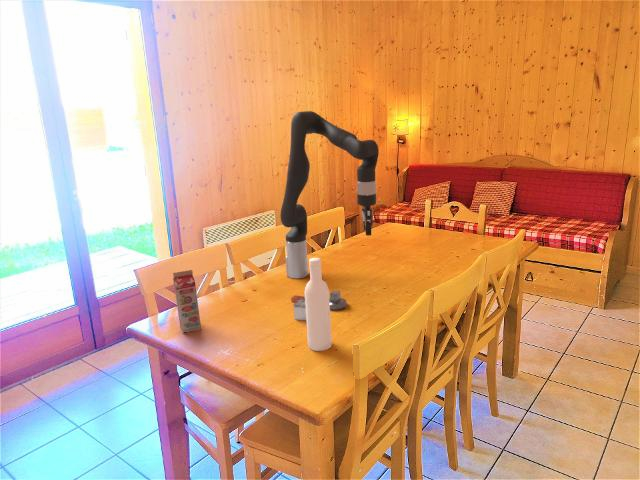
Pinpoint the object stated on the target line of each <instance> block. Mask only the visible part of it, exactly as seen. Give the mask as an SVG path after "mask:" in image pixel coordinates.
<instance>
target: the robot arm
mask: <svg viewBox="0 0 640 480" xmlns="http://www.w3.org/2000/svg"><path fill="white" fill-rule="evenodd" d="M311 134H316V135H321V136H323V137H325V138H326V139H327V140H328V141H329V142H330V143H331V144H332V145H334V146H335V147H337V148H339V149H342V150H343V151H346V152H347V153H348V154H349V155H350V156H351V157H353V158H354V159H357V160H360V161H362V162H361V164H360V165H359V166H358V167H357V169H356V204H357V205H358V206H359V207H360V206H361V207H362V208H361V217H362V222H363V230H364V231H365V235H366V236H372V226H373V208H372V206H375V205H377V183H376V182H377V181H376V169H377V165H378V164H377V163H378V159H379V153H380V152H379V149H380V148H379V145H378V143H377V142H376V141H375V140H373V139H365V140H360V139H358V137H357V135H356V134H354V133H352V132H350V131H348V130H346V129H343V128H341V127H338V126H336V125H335V124H333V123H331V122H330V121H328V120H326V119H325V118H324V117H322V116H321V115H320V114H319V113H316V112H315V111H311V110H306V111H305V110H304V111H298V112H295V113H294V114H293V116H292V118H291V126H290V146H289V147H290V149H289V159H288V166H287V174H286V182H285V183H286V184H285V190H284V197H283V201H282V204H281V205H282V206H281V208H280V222H281V223H282V225H283V226H284V227H285V228H290V230H289V231H288V232H287V233H286V234H285V245H286V256H285V269H286V277H289V278H291V279H303V278H306V277H308V276H309V262H308V261H309V260H308V249H307V248H308V246H307V234H308V214H307V211H306V208H305V207H304V206H303V205H302V204H300V203H298V201H299V198H300V195H301V194H302V192H303V190H304V189H305V187H306V185H307V183H308V180H309V176H310V175H309V174H310V170H311V166H310V165H311V164H310V159H309V158H308V155H307V153H306V148H305V147H306V145H305V144H306V137H307V135H311Z"/></svg>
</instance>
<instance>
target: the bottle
mask: <svg viewBox="0 0 640 480" xmlns="http://www.w3.org/2000/svg"><path fill="white" fill-rule="evenodd" d="M308 261H309V262H308V267H309V276H310V279H309V281H308V282H307V283H306V285H305V288H304V297H305V305H306V320H307V321H306V331H307V332H306V333H307V334H306V335H307V345H308V346H307V347H308V348H309V350H312V351H315V352H323V351H327V350H328V349H330V348H331V347H332V345H333V343H332V341H333V338H332V324H331V310H330V301H329V299H330V290H329V286H328V283H327V282H326V281H324V280H323V279H322V278H323V277H322V259H321V258H319V257H313V258H309V260H308Z"/></svg>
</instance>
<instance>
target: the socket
mask: <svg viewBox="0 0 640 480" xmlns="http://www.w3.org/2000/svg"><path fill="white" fill-rule="evenodd" d="M293 313H294V320H296V321H304V322H307V320H306V305H305V299H300V300H298V301H297V302H294V304H293Z"/></svg>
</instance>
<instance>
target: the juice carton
mask: <svg viewBox="0 0 640 480" xmlns="http://www.w3.org/2000/svg"><path fill="white" fill-rule="evenodd" d="M193 274H194V272H193V270H192V269H190V270H189V269H188V270H183V271H178V272H177V271H176V272H172V275H173V279H172V280H173V287H174V288H173V289H174V293H175V302H176V308H177V315H178V321H179V323H178V324H179V328H180V327H181V328H180V331H181V333H182V332H183V333H182V334H185V333H184V332H187V333H191V332H190V331H192V332H195V330H196V331H199V330H202V325H201V317H200V309H199V302H198V296H197V295H198V294H197V293H198V292H197V286H196V281H195V277H194V275H193Z"/></svg>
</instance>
